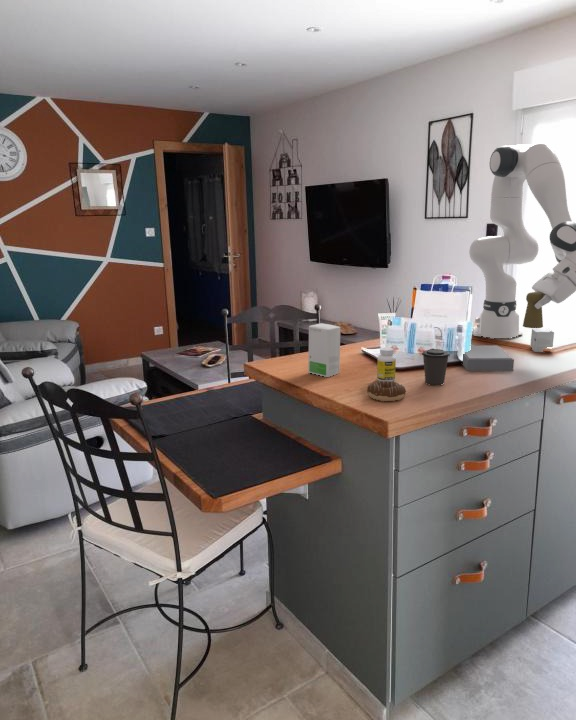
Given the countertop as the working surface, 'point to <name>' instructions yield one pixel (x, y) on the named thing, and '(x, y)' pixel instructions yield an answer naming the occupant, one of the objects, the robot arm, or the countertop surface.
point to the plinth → (487, 359)
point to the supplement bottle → (386, 365)
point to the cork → (533, 311)
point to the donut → (386, 391)
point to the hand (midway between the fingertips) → (532, 305)
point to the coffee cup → (435, 366)
